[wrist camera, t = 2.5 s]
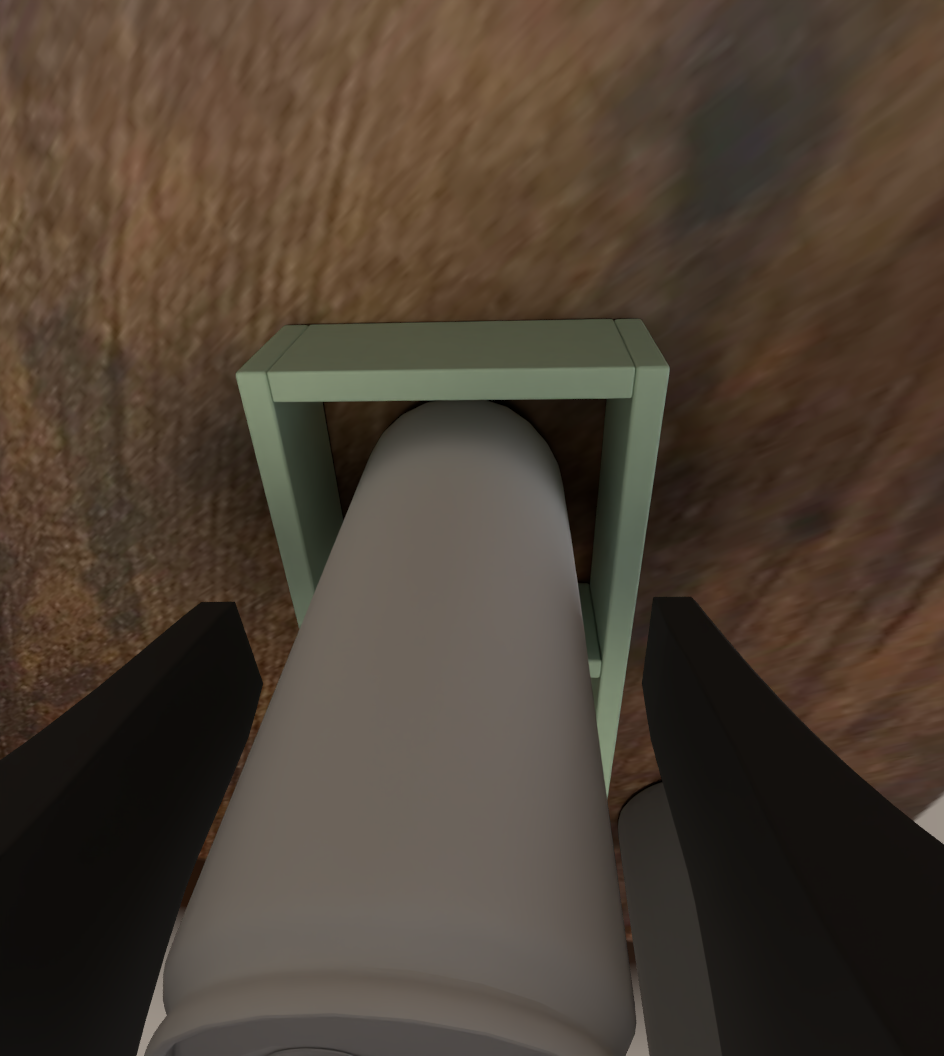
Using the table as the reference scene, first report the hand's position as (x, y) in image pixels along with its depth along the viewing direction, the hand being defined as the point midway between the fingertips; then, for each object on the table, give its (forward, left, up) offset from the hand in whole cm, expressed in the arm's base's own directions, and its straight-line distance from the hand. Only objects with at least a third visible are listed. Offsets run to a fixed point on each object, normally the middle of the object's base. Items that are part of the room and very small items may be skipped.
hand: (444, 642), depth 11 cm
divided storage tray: (0, +4, -6) cm, 7 cm away
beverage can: (0, 0, -6) cm, 6 cm away
